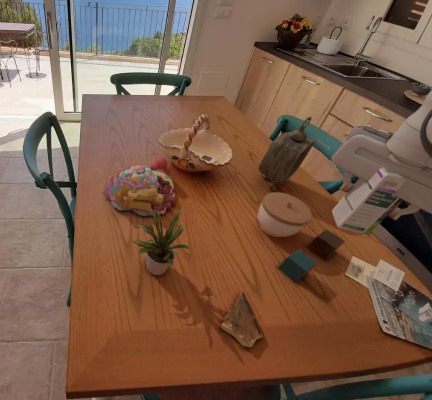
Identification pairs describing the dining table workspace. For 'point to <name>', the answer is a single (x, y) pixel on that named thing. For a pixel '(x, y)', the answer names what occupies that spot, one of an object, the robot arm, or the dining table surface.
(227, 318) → the shard
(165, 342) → the dining table surface
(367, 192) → the syrup box
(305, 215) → the lidded bowl
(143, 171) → the candy landscape model
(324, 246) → the block
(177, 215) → the house plant
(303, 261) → the block
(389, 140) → the robot arm
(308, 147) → the old cowbell
